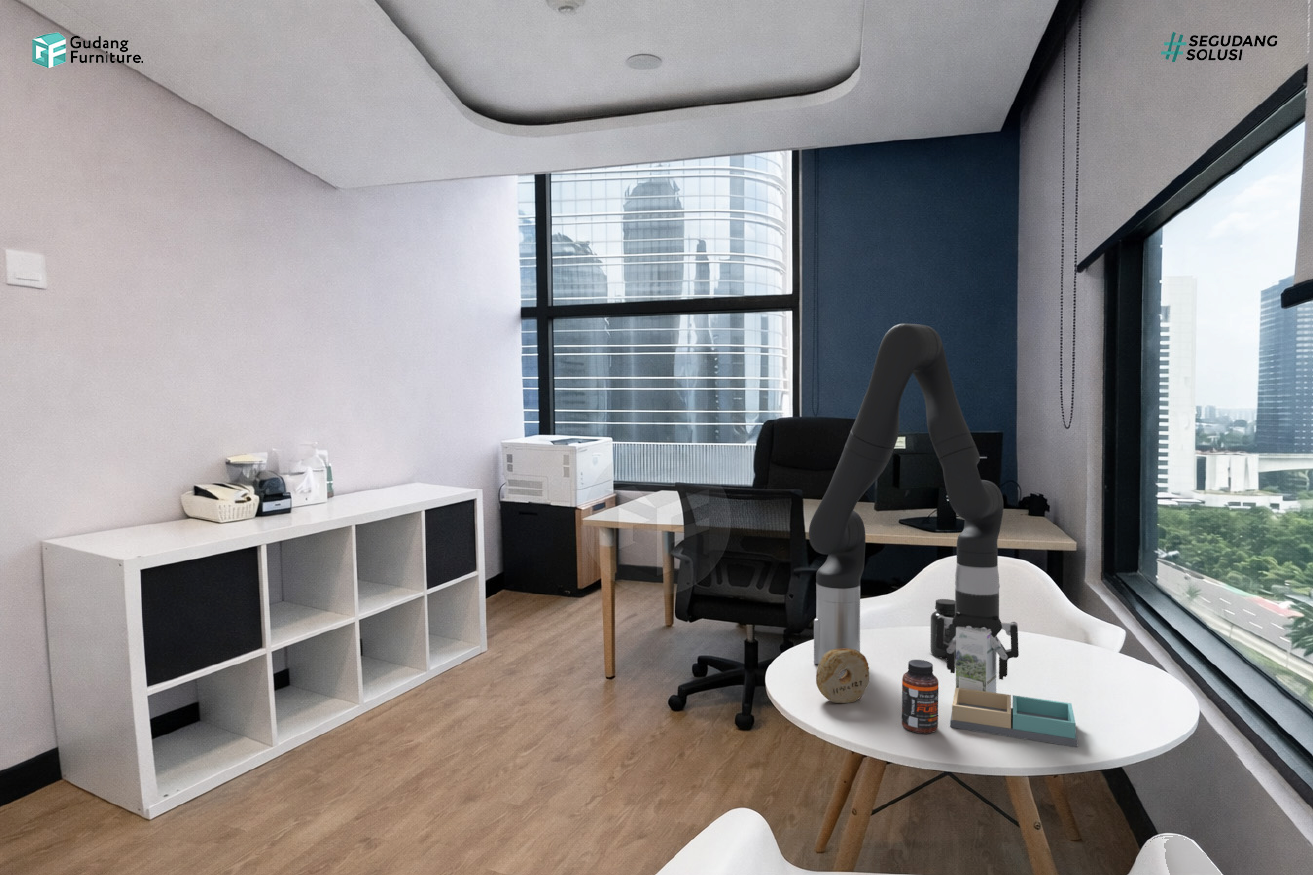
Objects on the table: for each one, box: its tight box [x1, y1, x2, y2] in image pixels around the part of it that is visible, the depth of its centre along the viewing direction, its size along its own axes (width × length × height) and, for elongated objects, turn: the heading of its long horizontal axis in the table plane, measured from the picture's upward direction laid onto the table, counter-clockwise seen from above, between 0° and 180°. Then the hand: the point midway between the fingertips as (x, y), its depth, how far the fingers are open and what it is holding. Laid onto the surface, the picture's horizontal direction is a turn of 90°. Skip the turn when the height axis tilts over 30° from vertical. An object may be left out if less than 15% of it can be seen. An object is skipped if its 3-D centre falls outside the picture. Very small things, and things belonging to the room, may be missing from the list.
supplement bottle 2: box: [929, 598, 956, 660], centre depth 168 cm, size 7×7×12 cm
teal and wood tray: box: [949, 687, 1078, 748], centre depth 131 cm, size 19×10×4 cm, turn 65°
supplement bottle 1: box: [901, 659, 939, 735], centre depth 130 cm, size 6×6×11 cm
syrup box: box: [955, 627, 998, 693], centre depth 141 cm, size 6×6×14 cm
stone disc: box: [815, 648, 870, 704], centre depth 143 cm, size 10×4×10 cm, turn 106°
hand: (976, 675), depth 141 cm, fingers open, 8 cm apart
